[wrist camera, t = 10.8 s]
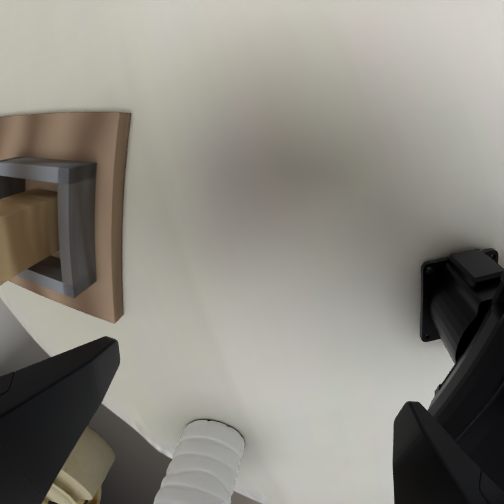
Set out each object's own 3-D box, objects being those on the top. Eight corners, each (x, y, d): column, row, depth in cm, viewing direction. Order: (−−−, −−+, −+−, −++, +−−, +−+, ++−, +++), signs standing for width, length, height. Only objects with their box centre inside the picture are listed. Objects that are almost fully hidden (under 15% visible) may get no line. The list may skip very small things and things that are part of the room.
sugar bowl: (149, 474, 36) (112, 552, 22) (110, 475, 39) (75, 538, 25) (73, 407, 33) (15, 486, 19) (44, 416, 36) (-4, 478, 22)
